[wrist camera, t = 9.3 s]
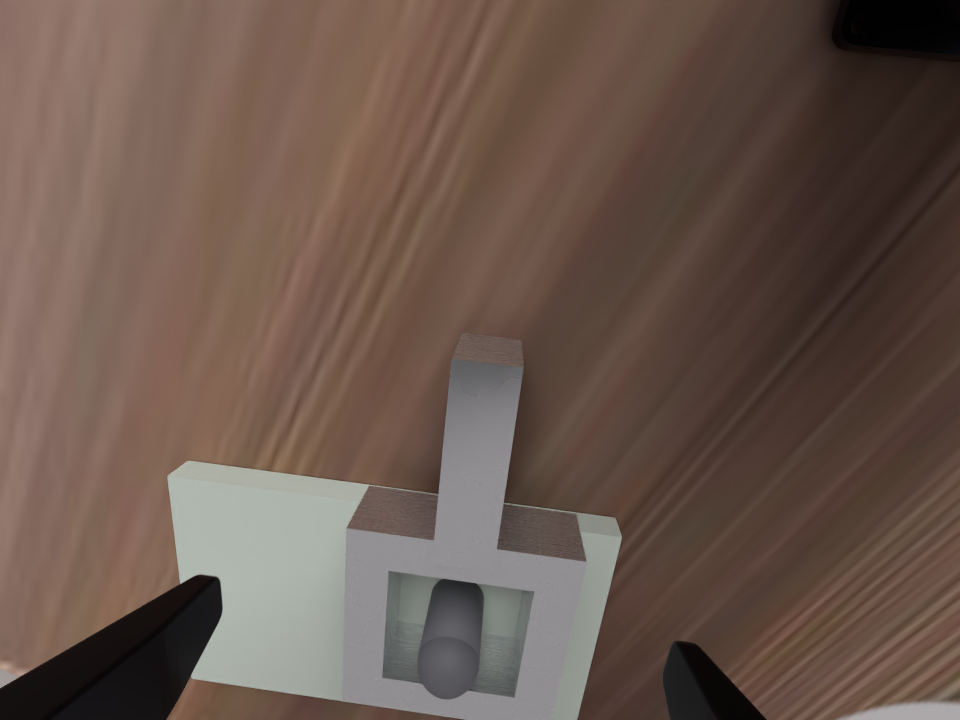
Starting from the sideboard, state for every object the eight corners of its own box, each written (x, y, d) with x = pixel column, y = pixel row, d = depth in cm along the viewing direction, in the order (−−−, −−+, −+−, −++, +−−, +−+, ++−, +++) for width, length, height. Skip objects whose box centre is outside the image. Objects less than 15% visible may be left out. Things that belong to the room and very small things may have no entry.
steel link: (375, 321, 15) (344, 344, 12) (610, 351, 15) (633, 381, 12) (362, 642, 20) (337, 713, 17) (544, 669, 19) (549, 746, 17)
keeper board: (615, 517, 18) (652, 624, 13) (570, 708, 22) (586, 849, 17) (188, 460, 19) (75, 543, 14) (208, 655, 22) (123, 776, 17)
